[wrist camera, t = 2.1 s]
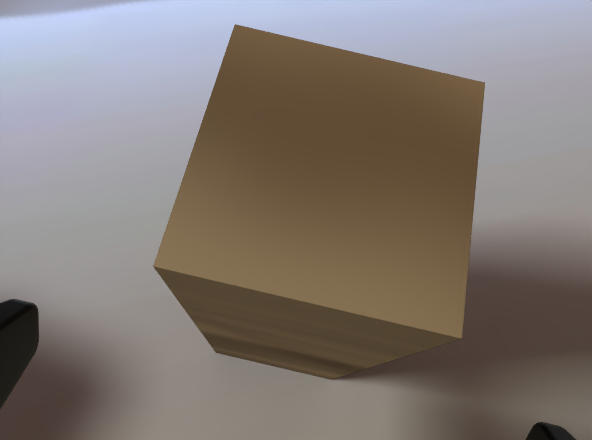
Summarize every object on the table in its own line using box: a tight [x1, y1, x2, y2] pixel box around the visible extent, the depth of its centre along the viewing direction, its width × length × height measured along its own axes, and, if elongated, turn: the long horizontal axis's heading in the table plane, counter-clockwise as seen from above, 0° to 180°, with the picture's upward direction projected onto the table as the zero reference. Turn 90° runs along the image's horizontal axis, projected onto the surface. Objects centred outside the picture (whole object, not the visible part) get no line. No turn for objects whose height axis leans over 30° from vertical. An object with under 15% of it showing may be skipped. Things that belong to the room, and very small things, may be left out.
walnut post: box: [153, 24, 485, 379], centre depth 14 cm, size 4×4×12 cm
